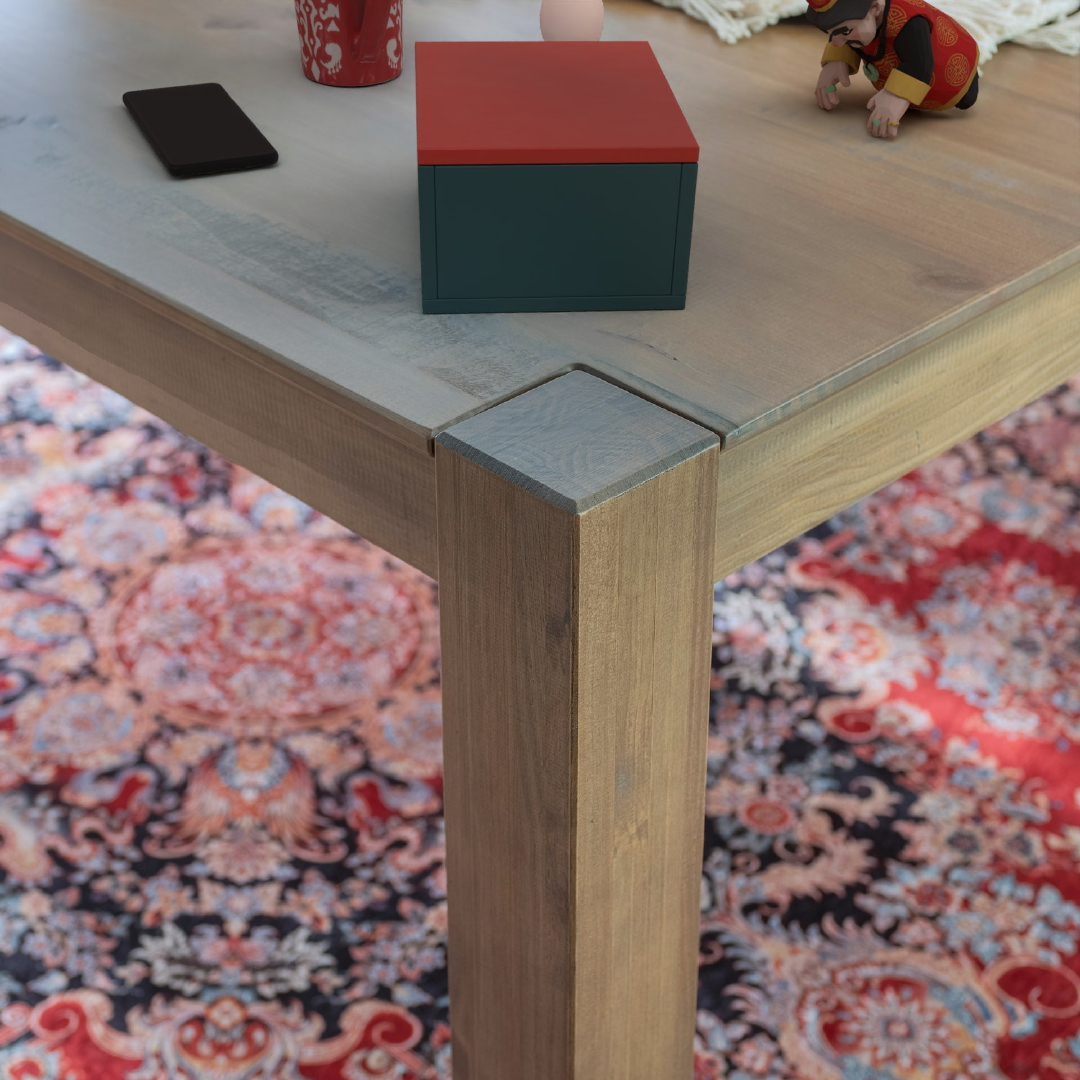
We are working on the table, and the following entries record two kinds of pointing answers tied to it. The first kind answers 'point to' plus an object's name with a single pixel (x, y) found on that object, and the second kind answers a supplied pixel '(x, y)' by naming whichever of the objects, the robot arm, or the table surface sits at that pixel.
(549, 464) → the table surface
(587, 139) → the lid
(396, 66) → the mug
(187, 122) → the smartphone
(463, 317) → the table surface
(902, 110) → the figurine
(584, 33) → the egg
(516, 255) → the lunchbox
